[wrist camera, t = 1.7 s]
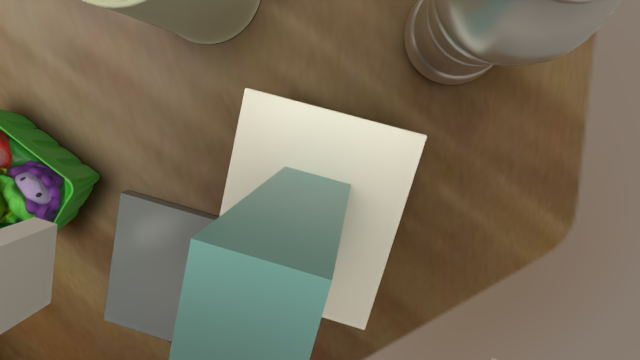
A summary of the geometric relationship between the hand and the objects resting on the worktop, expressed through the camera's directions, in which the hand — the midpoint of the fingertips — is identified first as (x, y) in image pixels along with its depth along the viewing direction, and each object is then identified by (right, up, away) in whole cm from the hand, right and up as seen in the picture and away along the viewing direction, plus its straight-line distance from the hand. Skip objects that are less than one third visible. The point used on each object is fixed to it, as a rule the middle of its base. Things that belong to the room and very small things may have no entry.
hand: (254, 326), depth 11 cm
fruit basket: (-23, +5, +24) cm, 33 cm away
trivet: (-12, -4, +24) cm, 27 cm away
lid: (+1, +3, +14) cm, 14 cm away
